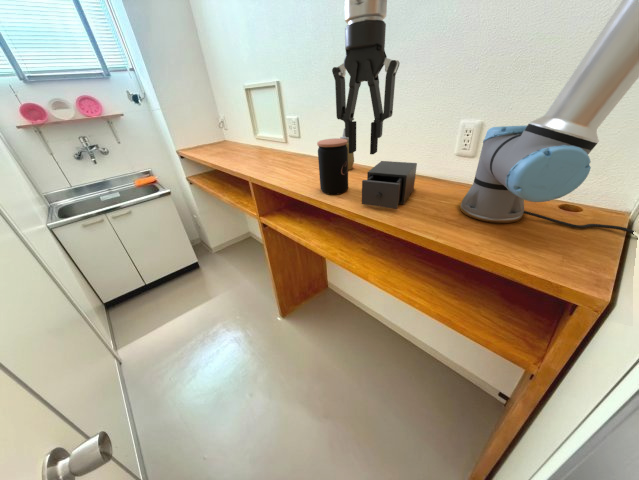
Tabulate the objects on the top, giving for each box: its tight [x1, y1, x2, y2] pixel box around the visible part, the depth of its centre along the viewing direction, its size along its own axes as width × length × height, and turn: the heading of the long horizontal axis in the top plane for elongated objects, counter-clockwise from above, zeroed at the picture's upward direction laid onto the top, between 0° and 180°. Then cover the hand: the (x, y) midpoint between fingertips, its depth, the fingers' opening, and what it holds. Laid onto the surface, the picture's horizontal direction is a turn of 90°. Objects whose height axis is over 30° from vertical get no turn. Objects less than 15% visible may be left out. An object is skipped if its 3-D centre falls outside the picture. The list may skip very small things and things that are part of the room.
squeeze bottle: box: [340, 127, 355, 171], centre depth 116 cm, size 8×8×18 cm
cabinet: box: [366, 160, 418, 205], centre depth 87 cm, size 15×13×10 cm
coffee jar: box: [316, 137, 349, 196], centre depth 92 cm, size 11×11×18 cm
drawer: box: [361, 175, 404, 210], centre depth 82 cm, size 15×11×8 cm
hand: (362, 152), depth 59 cm, fingers open, 4 cm apart
